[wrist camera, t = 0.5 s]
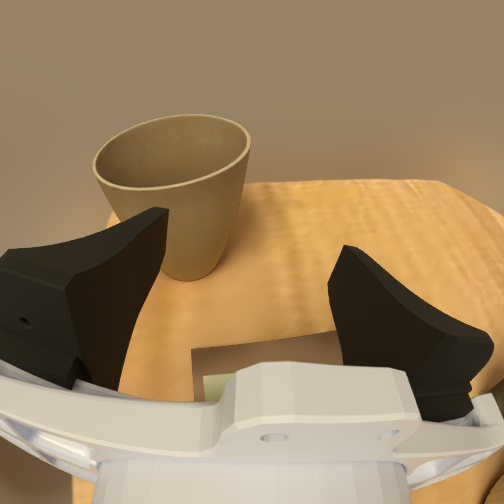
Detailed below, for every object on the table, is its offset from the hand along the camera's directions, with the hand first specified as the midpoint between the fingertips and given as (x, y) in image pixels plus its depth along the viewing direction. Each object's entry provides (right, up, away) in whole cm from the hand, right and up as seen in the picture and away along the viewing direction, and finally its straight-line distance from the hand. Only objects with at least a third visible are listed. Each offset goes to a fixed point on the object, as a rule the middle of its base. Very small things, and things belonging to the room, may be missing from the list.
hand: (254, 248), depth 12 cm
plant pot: (-8, -1, +26) cm, 27 cm away
